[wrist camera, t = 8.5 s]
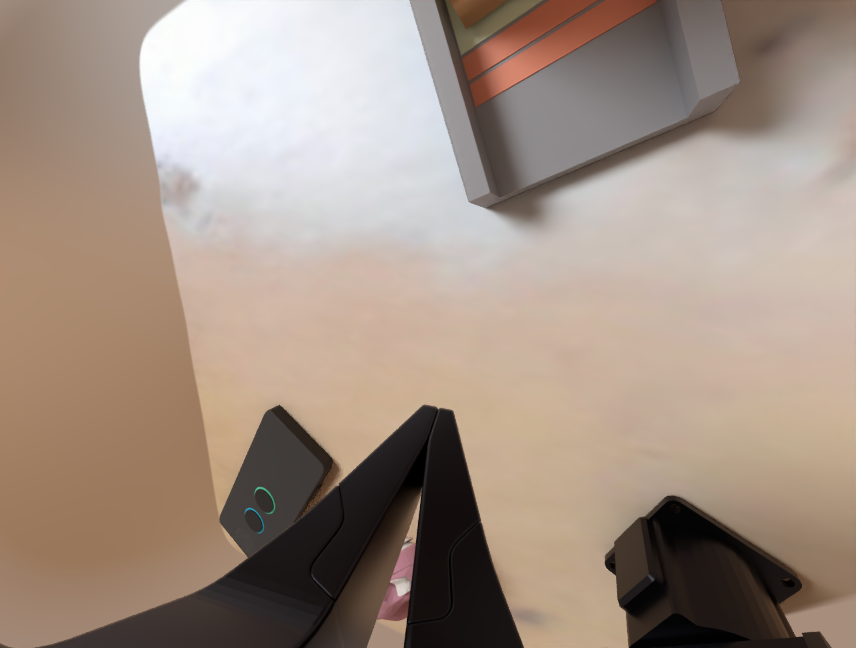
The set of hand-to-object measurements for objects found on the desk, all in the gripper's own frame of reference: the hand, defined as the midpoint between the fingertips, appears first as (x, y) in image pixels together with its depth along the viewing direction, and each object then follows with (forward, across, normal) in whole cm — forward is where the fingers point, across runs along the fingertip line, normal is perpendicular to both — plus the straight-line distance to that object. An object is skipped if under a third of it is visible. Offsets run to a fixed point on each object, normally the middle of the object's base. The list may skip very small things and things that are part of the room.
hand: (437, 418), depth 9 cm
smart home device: (+12, +18, +27) cm, 35 cm away
